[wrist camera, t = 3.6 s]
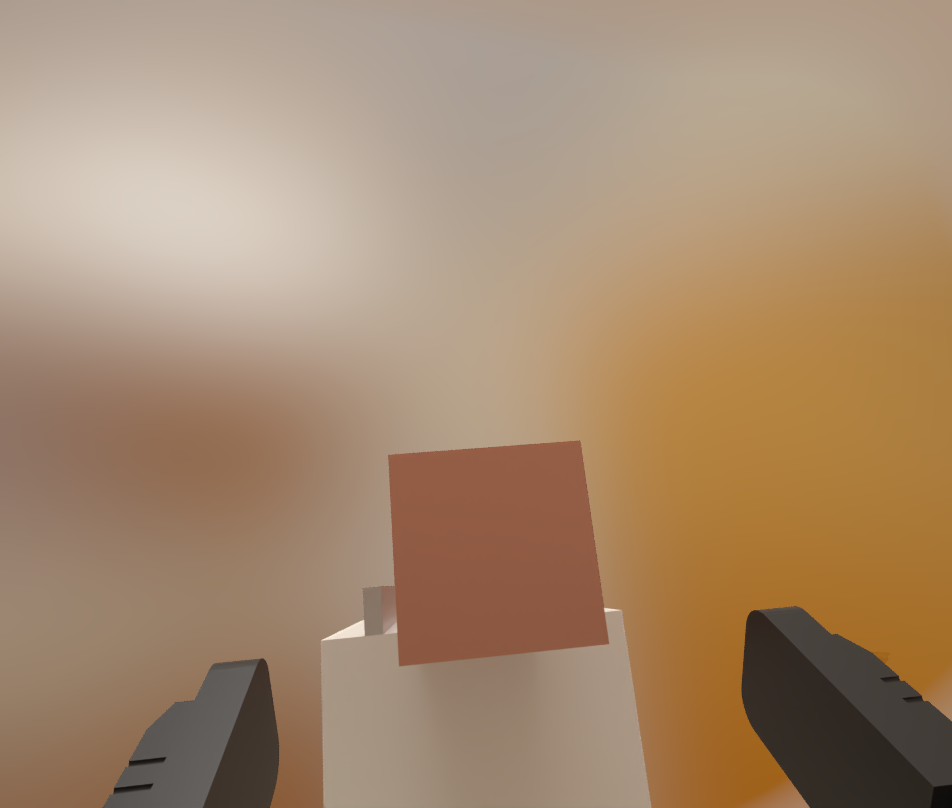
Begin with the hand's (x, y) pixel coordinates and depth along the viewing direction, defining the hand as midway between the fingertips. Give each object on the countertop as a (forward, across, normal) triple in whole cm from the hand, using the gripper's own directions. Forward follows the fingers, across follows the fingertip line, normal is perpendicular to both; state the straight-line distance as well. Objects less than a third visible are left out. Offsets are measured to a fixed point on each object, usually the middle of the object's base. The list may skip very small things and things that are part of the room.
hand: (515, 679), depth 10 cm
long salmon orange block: (+10, 0, +6) cm, 12 cm away
